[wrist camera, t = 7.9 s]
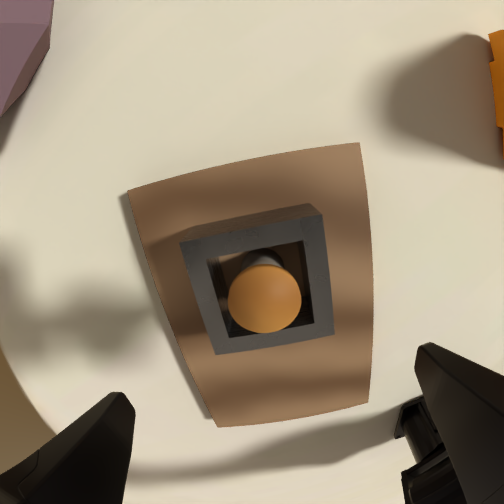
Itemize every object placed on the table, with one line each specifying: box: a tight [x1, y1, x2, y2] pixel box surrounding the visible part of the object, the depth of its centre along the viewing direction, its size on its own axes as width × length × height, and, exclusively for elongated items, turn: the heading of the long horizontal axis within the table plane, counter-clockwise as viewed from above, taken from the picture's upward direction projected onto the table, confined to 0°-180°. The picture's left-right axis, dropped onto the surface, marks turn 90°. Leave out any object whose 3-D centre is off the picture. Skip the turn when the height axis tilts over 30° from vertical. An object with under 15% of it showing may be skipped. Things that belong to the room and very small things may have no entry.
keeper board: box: [127, 143, 373, 427], centre depth 16 cm, size 20×13×5 cm, turn 12°
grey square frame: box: [179, 203, 335, 355], centre depth 15 cm, size 6×6×3 cm
